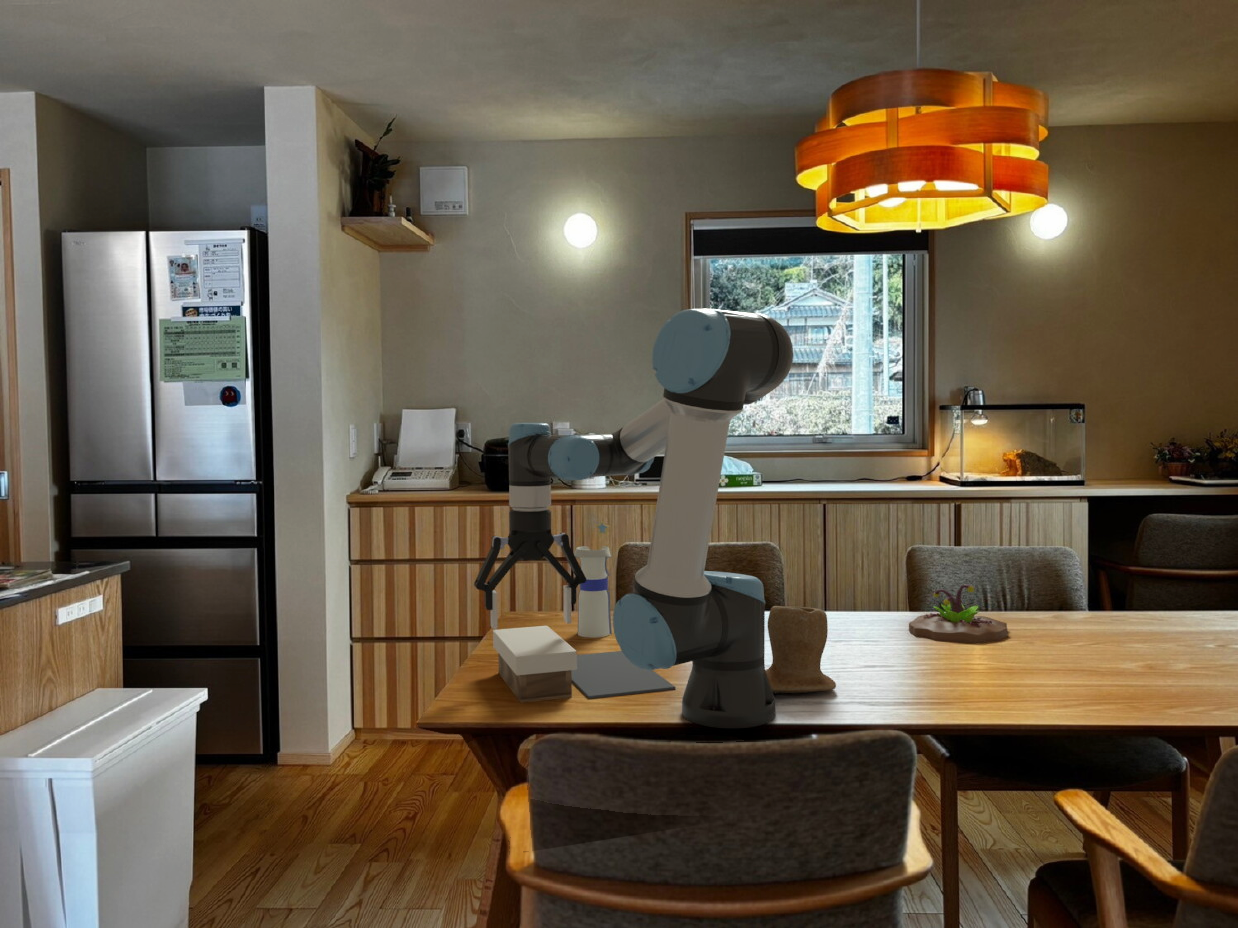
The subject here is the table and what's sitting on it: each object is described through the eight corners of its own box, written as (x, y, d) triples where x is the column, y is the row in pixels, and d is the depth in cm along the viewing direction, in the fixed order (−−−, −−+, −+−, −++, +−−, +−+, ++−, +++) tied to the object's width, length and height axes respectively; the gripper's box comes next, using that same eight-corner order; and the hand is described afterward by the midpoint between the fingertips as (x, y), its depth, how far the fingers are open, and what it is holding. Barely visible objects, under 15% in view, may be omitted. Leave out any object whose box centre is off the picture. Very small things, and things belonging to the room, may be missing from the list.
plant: (991, 649, 196) (992, 595, 196) (898, 637, 208) (899, 586, 207) (1017, 631, 212) (1018, 581, 212) (929, 620, 224) (930, 573, 223)
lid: (577, 669, 165) (576, 651, 165) (516, 675, 161) (516, 656, 161) (547, 641, 185) (547, 625, 185) (493, 646, 182) (492, 629, 182)
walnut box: (571, 697, 165) (571, 657, 165) (520, 702, 163) (520, 662, 162) (544, 668, 184) (544, 632, 184) (498, 673, 182) (497, 636, 181)
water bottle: (577, 629, 218) (575, 520, 217) (614, 629, 217) (612, 520, 216) (572, 637, 210) (570, 524, 209) (610, 637, 209) (609, 524, 208)
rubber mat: (675, 689, 169) (675, 686, 169) (588, 698, 164) (588, 696, 164) (625, 652, 196) (625, 650, 196) (549, 659, 191) (549, 657, 191)
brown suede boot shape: (823, 679, 175) (823, 598, 174) (842, 698, 163) (842, 611, 162) (741, 681, 174) (741, 599, 173) (754, 700, 162) (753, 613, 161)
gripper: (590, 503, 179) (591, 615, 181) (457, 508, 172) (459, 625, 173) (602, 508, 172) (602, 624, 174) (464, 513, 165) (465, 634, 166)
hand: (531, 624), depth 173 cm, fingers open, 13 cm apart
